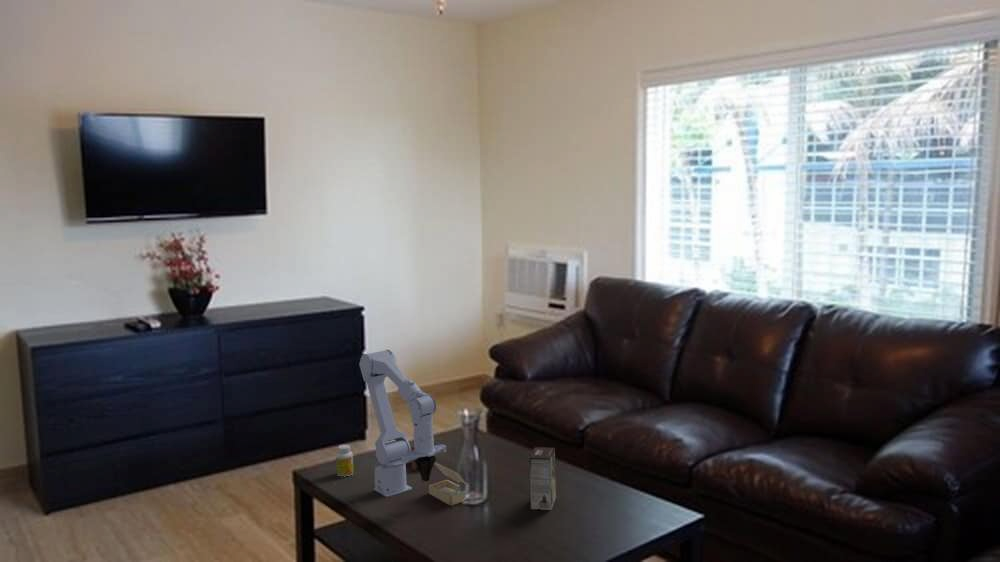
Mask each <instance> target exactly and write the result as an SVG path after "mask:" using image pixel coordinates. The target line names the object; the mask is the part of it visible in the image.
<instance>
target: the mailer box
mask: <svg viewBox="0 0 1000 562" xmlns="http://www.w3.org/2000/svg"><path fill="white" fill-rule="evenodd" d="M459 486H460V484H457V483H455V482H453V481H451V480H449V479H445V480H441V481H439V482H435V483H432V484H428V494H429V495H431V496H433V497H434V498H436V499H437V500H440V501H442V502H443V503H445V504H446V505H449V506H454V505H457V504H460V503H463V502H464V501H463V500H464V498H465V495H466V494H467V492H463V493H459V494H456V495H453V496H450V495H448V494H446V493H444V492H442V491H440V490H439V489H442V488H444V487H447V488H450V489H453V490H455V491H458V489H459ZM462 501H463V502H462Z"/></svg>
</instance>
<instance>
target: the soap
mask: <svg viewBox="0 0 1000 562" xmlns="http://www.w3.org/2000/svg"><path fill="white" fill-rule="evenodd" d="M439 490H440V491H442V492H444V493H446V494H448V495H450V496H453V495H456V494H457V491H455V490H453V489H450V488H447V487H444V488H442V489H439Z"/></svg>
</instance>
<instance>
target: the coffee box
mask: <svg viewBox="0 0 1000 562" xmlns="http://www.w3.org/2000/svg"><path fill="white" fill-rule="evenodd" d="M529 476H530V477H529V479H530V481H529V482H530V484H529V485H530V509H531V510H538V509H540V510H542V511H552V510H553V507H554V504H555V502H556V498H557V495H556V494H557V493H556V491H557V490H556V486H557V485H556V448H555V447H539V446H538V447H537V446H536V447H534V448H533V450H532V452H531V455H530V457H529Z"/></svg>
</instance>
